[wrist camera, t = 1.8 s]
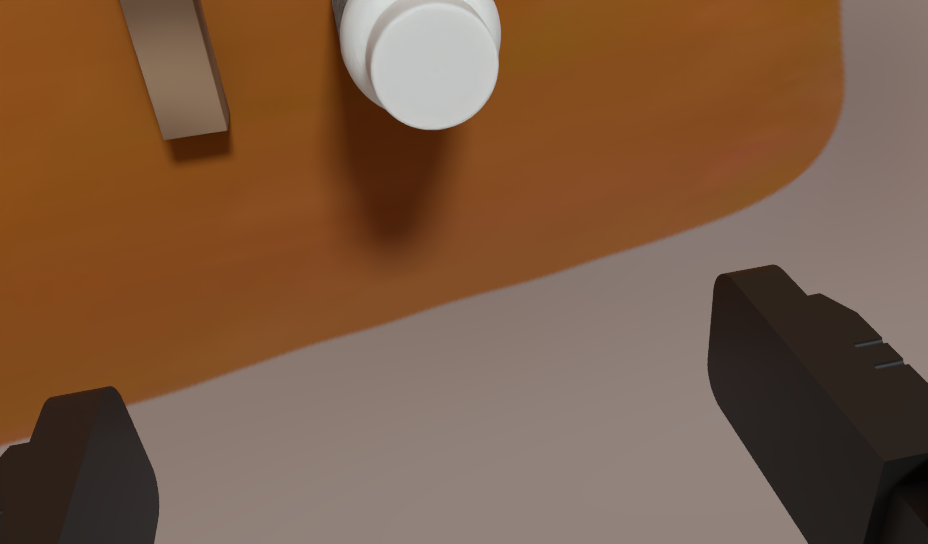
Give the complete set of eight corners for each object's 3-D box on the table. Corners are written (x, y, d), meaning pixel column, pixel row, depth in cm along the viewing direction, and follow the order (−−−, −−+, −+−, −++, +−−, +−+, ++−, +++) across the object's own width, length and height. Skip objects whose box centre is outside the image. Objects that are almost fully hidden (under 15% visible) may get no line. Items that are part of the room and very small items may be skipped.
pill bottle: (356, 71, 34) (379, 173, 26) (309, -58, 31) (317, 12, 23) (479, 30, 34) (539, 119, 26) (443, -104, 31) (499, -49, 23)
